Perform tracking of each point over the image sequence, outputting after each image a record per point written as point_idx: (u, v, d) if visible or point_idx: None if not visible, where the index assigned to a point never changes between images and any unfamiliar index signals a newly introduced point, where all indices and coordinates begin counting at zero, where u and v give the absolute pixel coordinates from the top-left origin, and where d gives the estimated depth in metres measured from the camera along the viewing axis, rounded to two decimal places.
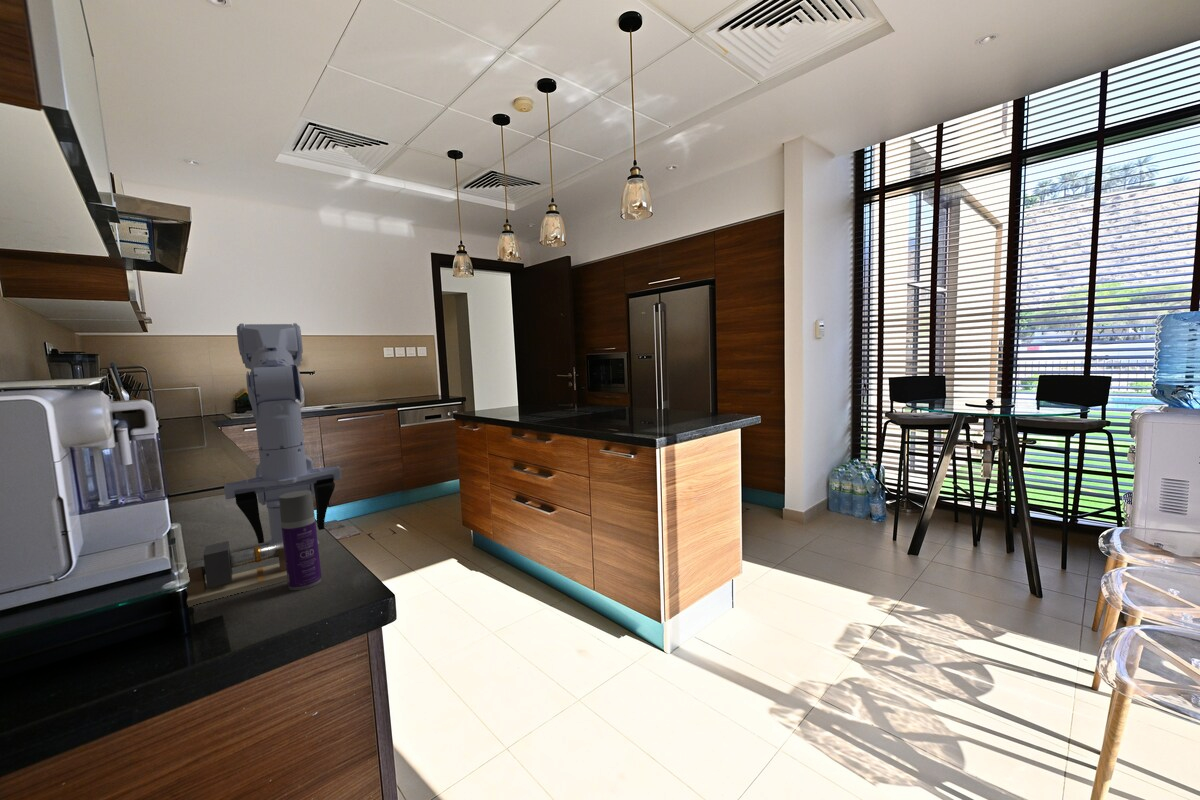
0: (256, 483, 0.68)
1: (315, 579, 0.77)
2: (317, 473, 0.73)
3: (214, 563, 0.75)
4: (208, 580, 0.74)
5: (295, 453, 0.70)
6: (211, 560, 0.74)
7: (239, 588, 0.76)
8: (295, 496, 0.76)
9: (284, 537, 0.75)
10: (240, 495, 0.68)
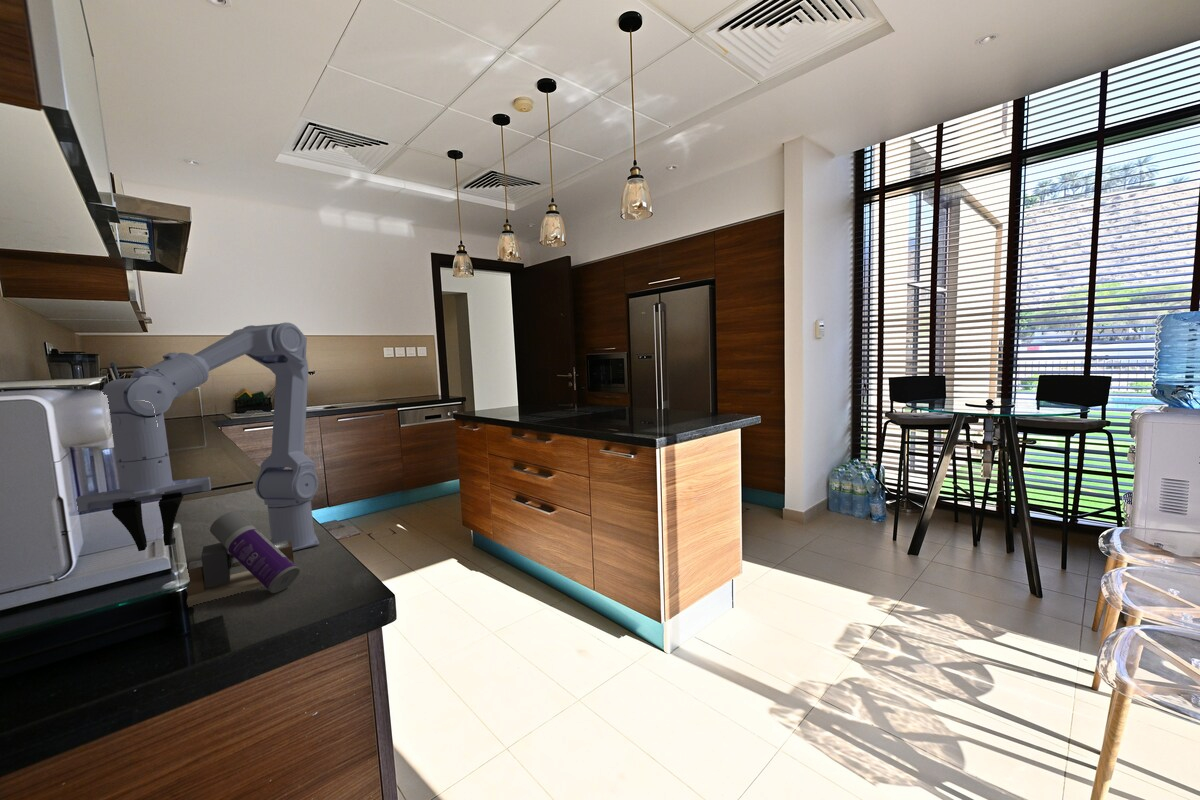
0: (111, 495, 0.68)
1: (275, 573, 0.74)
2: (181, 484, 0.73)
3: (212, 563, 0.74)
4: (206, 581, 0.74)
5: (154, 465, 0.70)
6: (209, 560, 0.74)
7: (239, 588, 0.76)
8: None
9: None
10: (118, 503, 0.69)
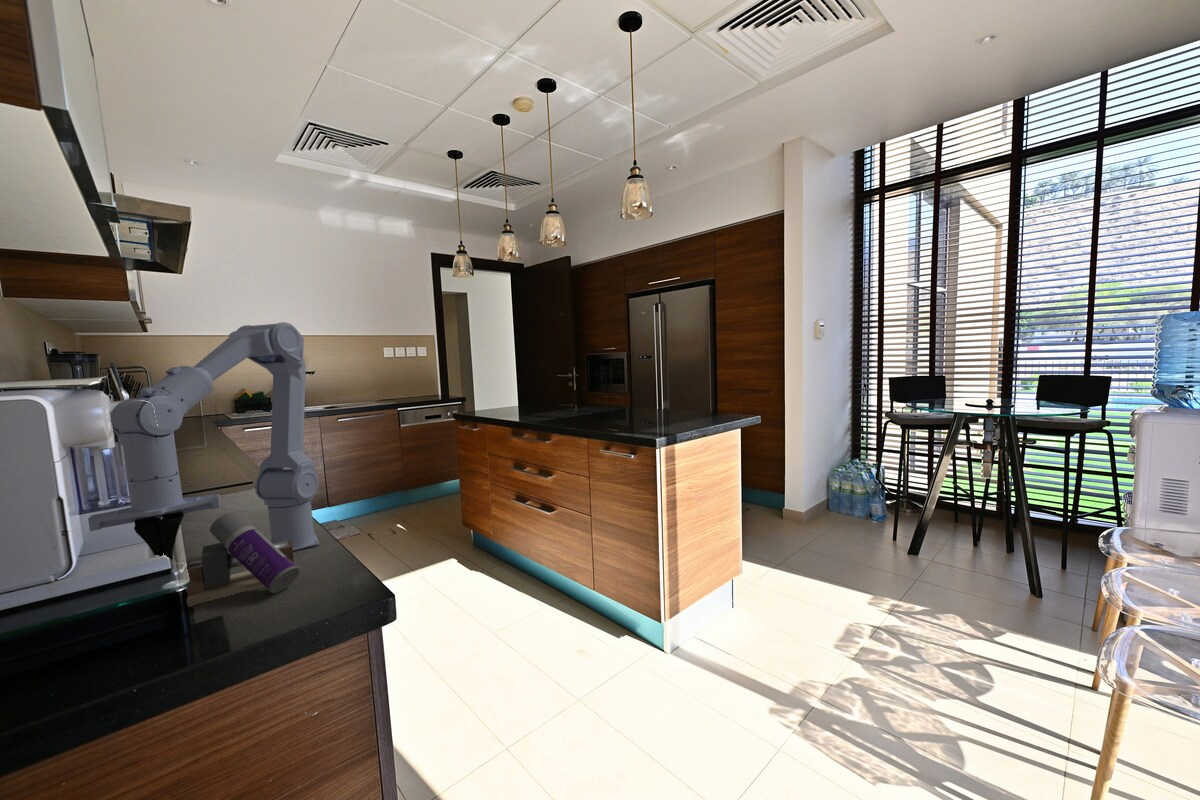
0: (122, 514, 0.69)
1: (275, 573, 0.74)
2: (191, 503, 0.73)
3: (212, 563, 0.74)
4: (206, 581, 0.74)
5: (165, 484, 0.71)
6: (209, 560, 0.74)
7: (239, 588, 0.76)
8: None
9: None
10: (139, 520, 0.71)
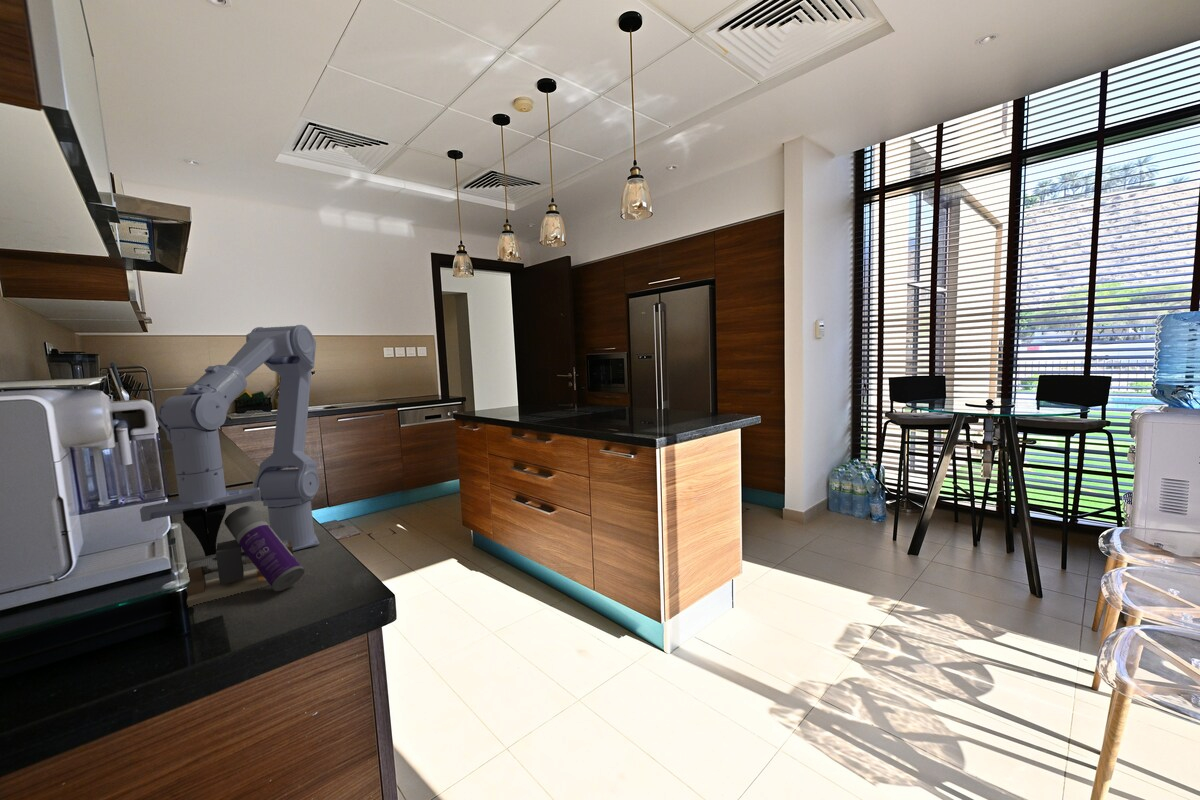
0: (172, 506, 0.72)
1: (283, 569, 0.74)
2: (235, 495, 0.77)
3: (226, 560, 0.76)
4: (221, 577, 0.75)
5: (211, 477, 0.74)
6: (223, 557, 0.75)
7: (239, 588, 0.76)
8: None
9: (245, 552, 0.77)
10: (187, 512, 0.74)
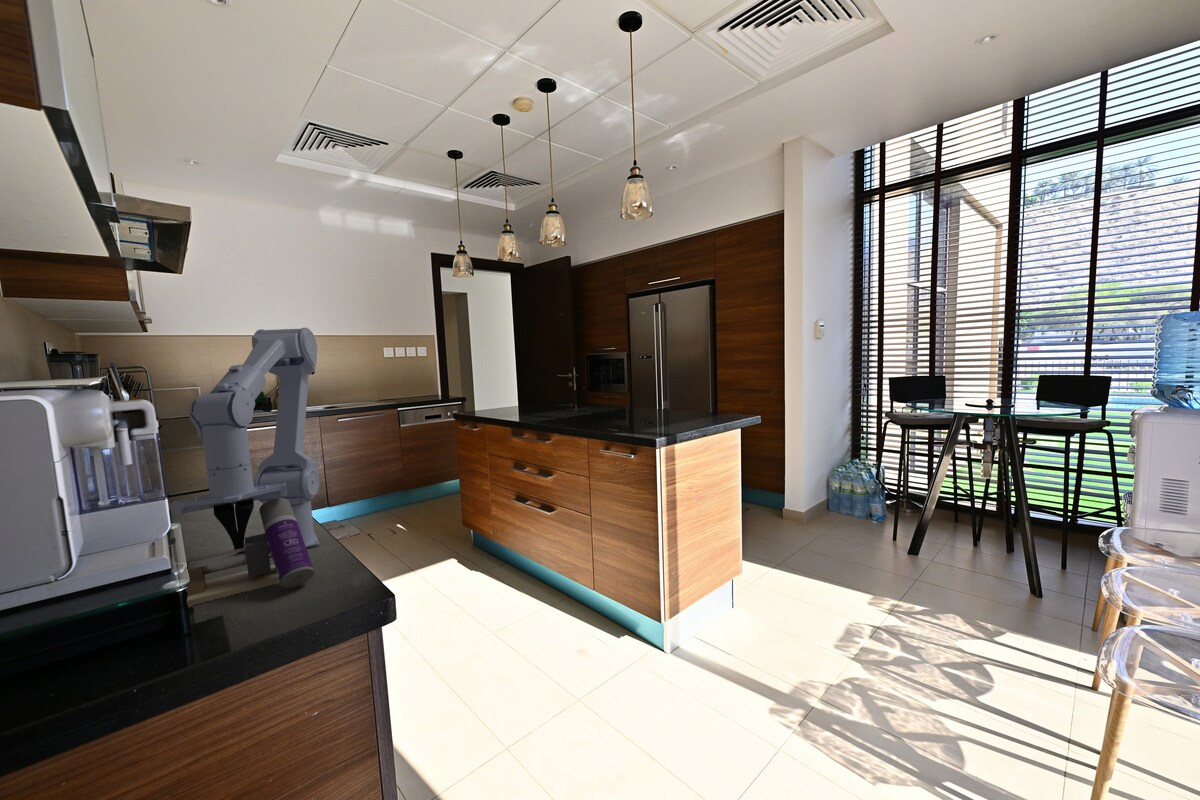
0: (203, 500, 0.74)
1: (304, 564, 0.76)
2: (263, 490, 0.79)
3: (255, 554, 0.78)
4: (249, 570, 0.77)
5: (241, 472, 0.76)
6: (252, 551, 0.77)
7: (239, 588, 0.76)
8: None
9: (268, 537, 0.78)
10: (218, 506, 0.76)
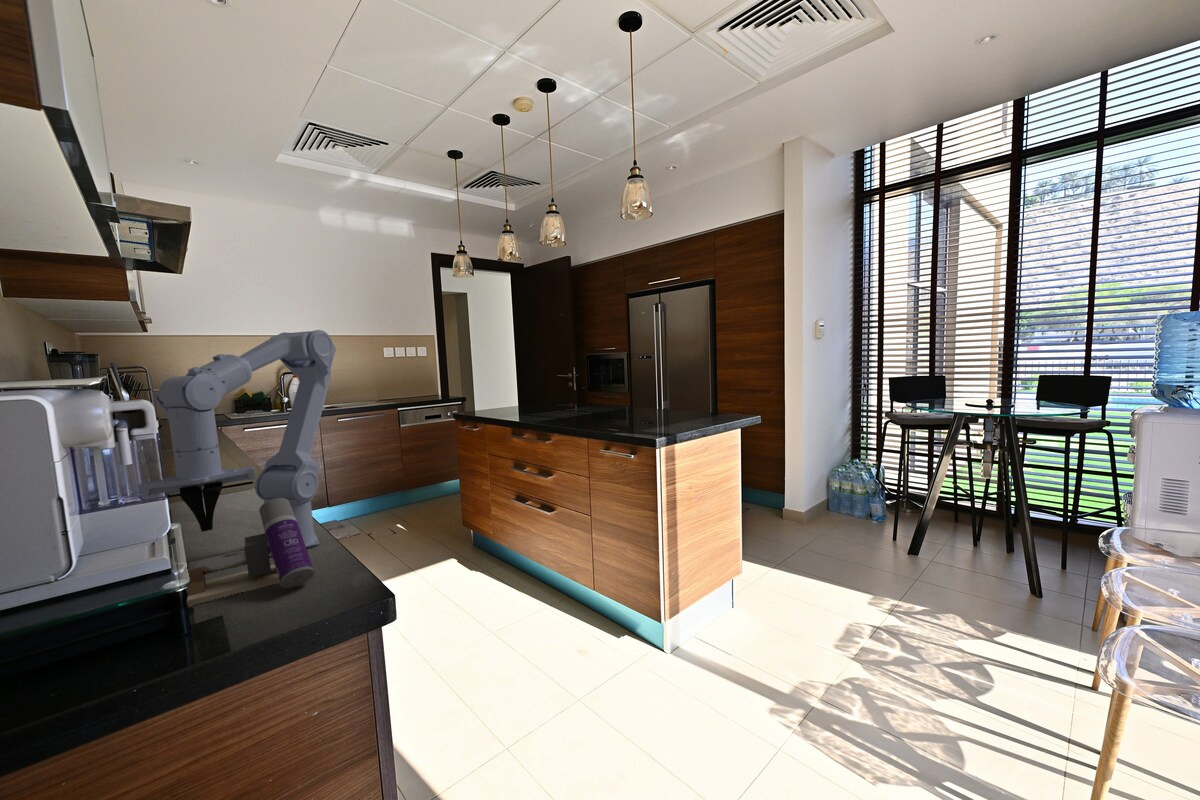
0: (169, 482, 0.75)
1: (304, 564, 0.76)
2: (230, 473, 0.80)
3: (255, 554, 0.78)
4: (249, 570, 0.77)
5: (207, 455, 0.77)
6: (252, 551, 0.77)
7: (239, 588, 0.76)
8: None
9: (268, 537, 0.78)
10: (184, 488, 0.77)
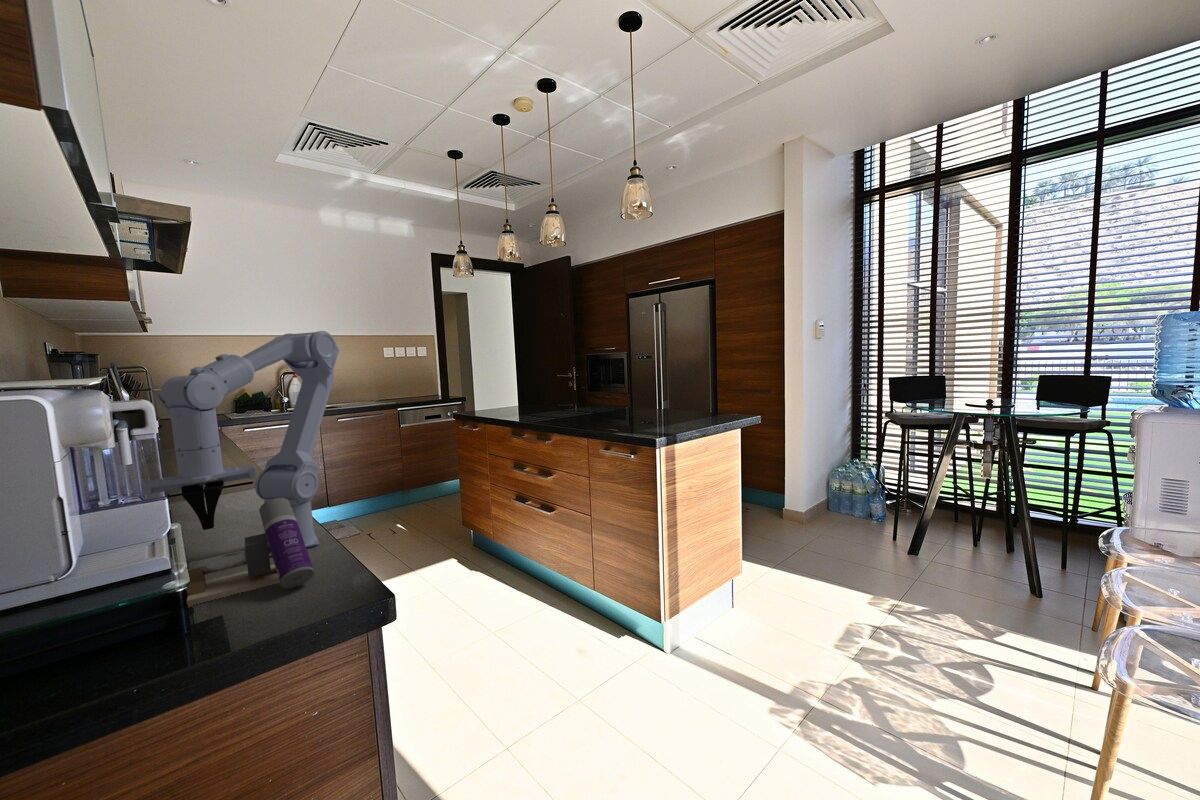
0: (171, 481, 0.76)
1: (304, 564, 0.76)
2: (231, 472, 0.80)
3: (255, 554, 0.78)
4: (249, 570, 0.77)
5: (209, 454, 0.78)
6: (252, 551, 0.77)
7: (239, 588, 0.76)
8: None
9: (268, 537, 0.78)
10: (186, 487, 0.77)
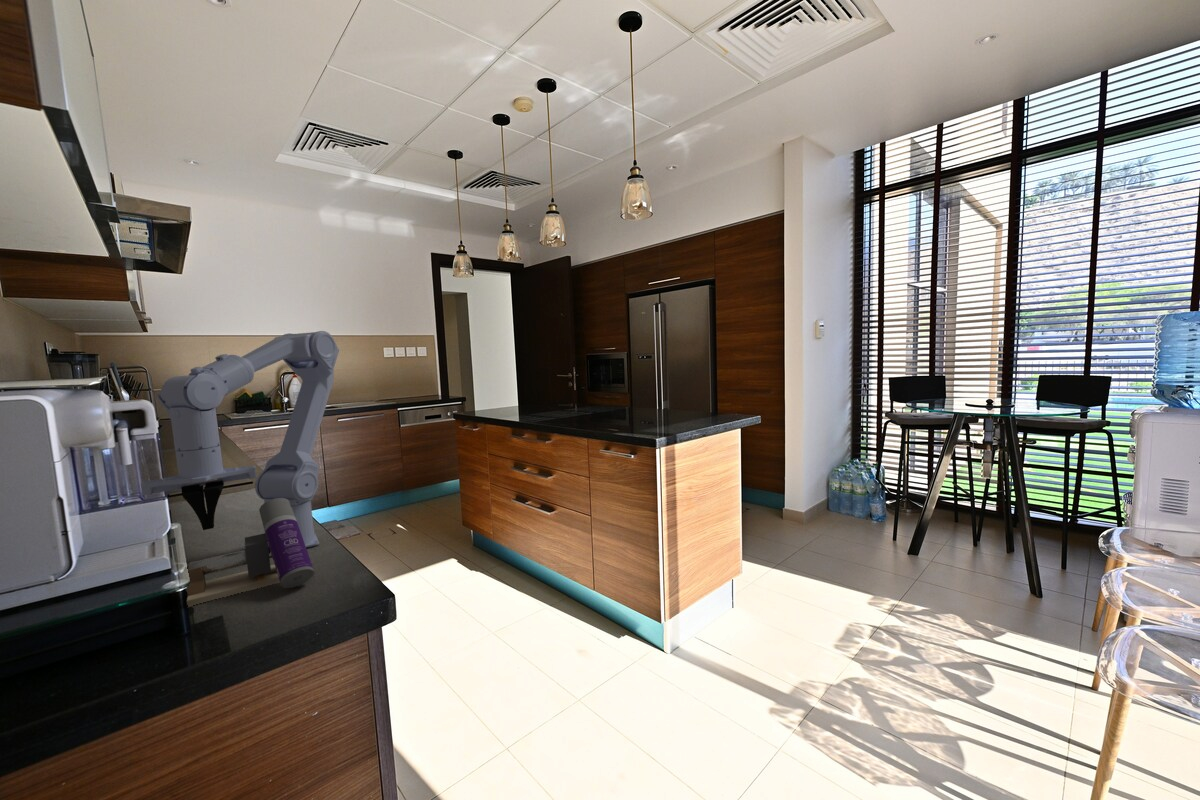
0: (171, 481, 0.76)
1: (304, 564, 0.76)
2: (231, 472, 0.80)
3: (255, 554, 0.78)
4: (249, 570, 0.77)
5: (209, 454, 0.78)
6: (252, 551, 0.77)
7: (239, 588, 0.76)
8: None
9: (268, 537, 0.78)
10: (186, 487, 0.77)
